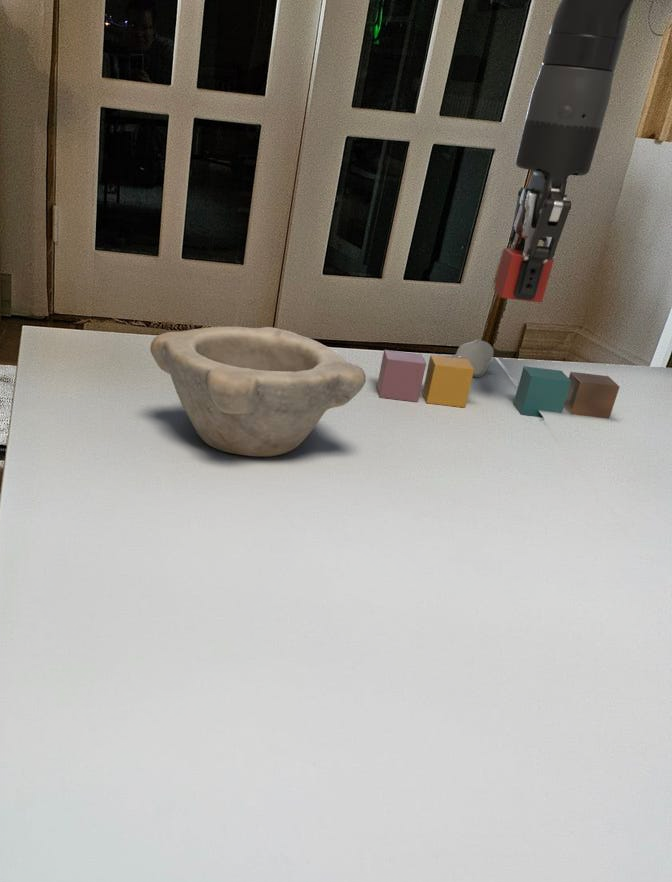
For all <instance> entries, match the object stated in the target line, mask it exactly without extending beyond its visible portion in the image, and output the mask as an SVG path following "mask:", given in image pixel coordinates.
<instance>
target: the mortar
mask: <svg viewBox="0 0 672 882" xmlns="http://www.w3.org/2000/svg"><path fill="white" fill-rule="evenodd" d="M149 347H150V348H149V349H150V353H151V356H152V357H153V359H154V361H155V363H156V364H157V366H158V367H159V369H161V371H163V372H164V373H167V374H168V375H170V378H171V381H172V384H173V386H174V389H175V391H176V394H177V397H178V399H179V401H180V403H181V406H182V408H183V409H184V411H185V412H186V415H187V417H188V419H189V421H190V423H191V425H192V427H193V429H194V430H195V432H196V434H197V435H198V436H199V438H200V440H202V441H203V442H204V443H205V444H207V445H208V446H209V447H211V448H213V449H216V450H218V451H221V452H225V453H229V454H233V455H241V456H246V457H247V456H248V457H275V456H280V455H284V454H286V453H290V452H291V451H293V450H294V449H296V448H297V447H298V446H300V445H301V444H302V443H303V442H304V441H305V440H306V438H308V437H309V435H310V434H311V432H313V430H314V428H315V427H316V426H317V424H318V423H319V422H320V420H321V419H322V418H323V416H324V414H325V413H326V412H327V411H328V410H330V409H334V408H339V407H343V406H346V404H348V403H349V402H350V401H351V400H352V399H354V397H356V396H357V395H358V394H359V393H360V391H361V390H362V389H363V388H364V386H365V384H366V373H365V371H364V369H363V368H362V367H361V366H360V365H359V364H356V363H353V362H350V361H347V359H345V357H344V356H343V355H342V354H341V353H340V352H338V351H337V350H335V349H333V348H331V347H329V346H327V345H324V344H323V343H321V342H319V341H318V340H314V339H312V338H309V337H306V336H304V335H300V334H298V333H295V332H294V331H289V330H286V329H280V328H277V327H273V326H264V327H248V326H247V327H245V326H212V327H211V326H210V327H201V328H194V329H188V330H183V331H182V330H181V331H167V332H164V333H161V334H158V335H156V336H155V337H154V338H153V339H152V341H151V343H150V346H149Z"/></svg>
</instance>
